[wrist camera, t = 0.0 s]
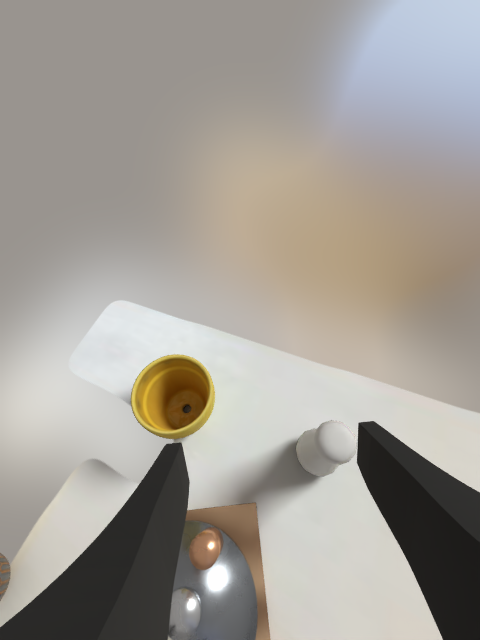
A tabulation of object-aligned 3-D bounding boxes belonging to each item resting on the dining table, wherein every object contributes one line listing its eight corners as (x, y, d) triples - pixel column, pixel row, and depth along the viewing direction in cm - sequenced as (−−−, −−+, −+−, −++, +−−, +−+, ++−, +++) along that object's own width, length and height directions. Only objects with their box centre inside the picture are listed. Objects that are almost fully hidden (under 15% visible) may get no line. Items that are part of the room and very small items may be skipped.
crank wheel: (217, 763, 27) (206, 837, 21) (83, 656, 31) (43, 694, 25) (278, 562, 34) (283, 577, 28) (163, 495, 38) (146, 497, 32)
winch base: (278, 713, 29) (278, 720, 28) (98, 735, 29) (93, 742, 28) (255, 502, 38) (255, 502, 37) (119, 518, 38) (116, 518, 37)
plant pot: (210, 369, 48) (200, 343, 39) (229, 431, 43) (222, 417, 34) (148, 389, 47) (125, 367, 38) (160, 456, 42) (136, 448, 33)
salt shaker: (286, 459, 41) (298, 447, 29) (306, 423, 43) (323, 400, 32) (324, 486, 39) (353, 485, 28) (343, 448, 41) (376, 432, 30)
